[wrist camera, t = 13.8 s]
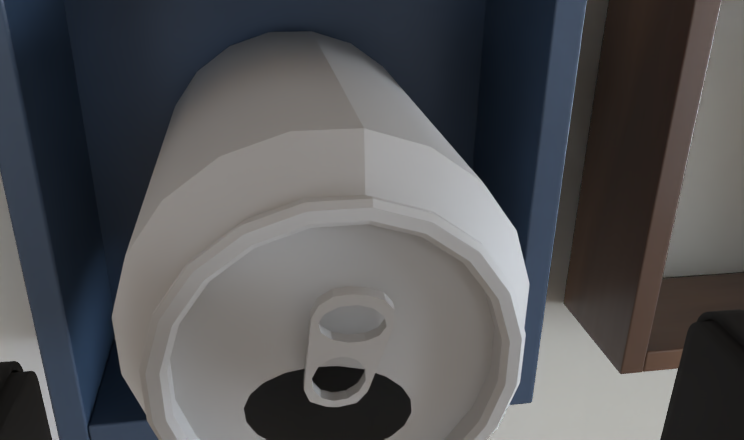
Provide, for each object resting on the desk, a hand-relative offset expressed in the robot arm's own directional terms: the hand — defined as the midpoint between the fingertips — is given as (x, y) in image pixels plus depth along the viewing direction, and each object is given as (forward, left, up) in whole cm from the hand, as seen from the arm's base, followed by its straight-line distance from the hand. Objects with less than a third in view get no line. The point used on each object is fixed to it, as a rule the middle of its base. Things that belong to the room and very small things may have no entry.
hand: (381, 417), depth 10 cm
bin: (+1, 0, -14) cm, 14 cm away
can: (0, 0, -13) cm, 13 cm away
